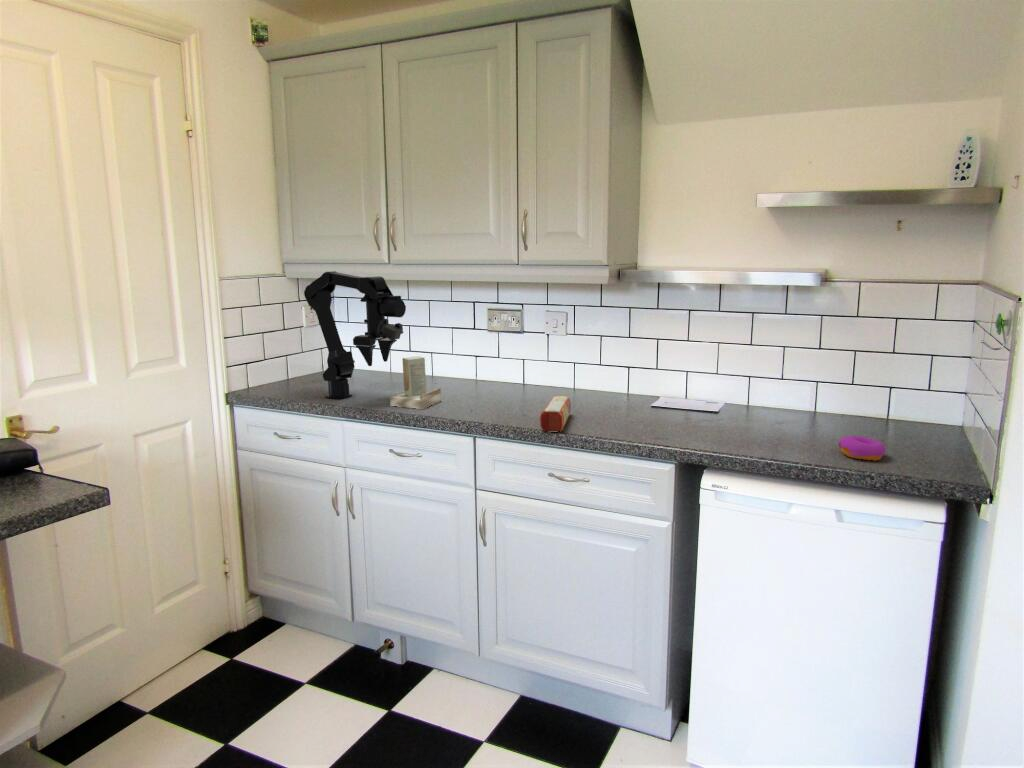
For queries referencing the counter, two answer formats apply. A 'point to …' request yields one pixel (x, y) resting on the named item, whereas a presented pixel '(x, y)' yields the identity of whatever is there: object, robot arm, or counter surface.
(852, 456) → the donut
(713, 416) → the counter surface
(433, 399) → the stand
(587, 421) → the counter surface
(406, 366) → the skincare box
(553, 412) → the snack package
